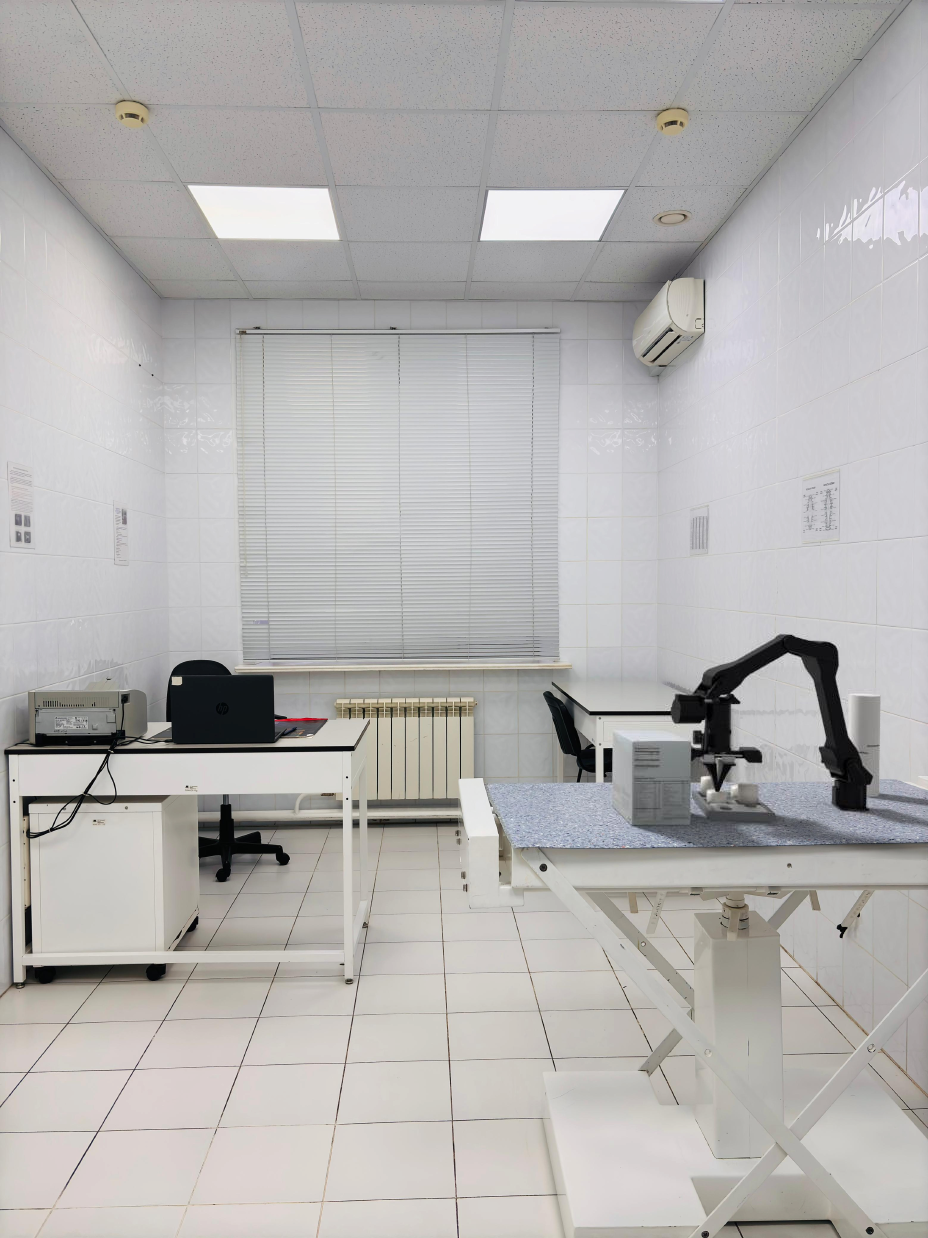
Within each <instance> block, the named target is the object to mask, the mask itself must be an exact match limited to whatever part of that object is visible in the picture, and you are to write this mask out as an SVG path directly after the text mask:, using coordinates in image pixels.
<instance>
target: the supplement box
mask: <svg viewBox="0 0 928 1238" xmlns="http://www.w3.org/2000/svg"><path fill="white" fill-rule="evenodd" d="M691 746H692V741H691V740H688V739H685V738H683V737H681V736H678V734H677V735H676V734H675V733H672V732H669V731H667V730H645V729H644V730H643V729H640V730H635V729H634V730H632V729H631V730H630V729H628V730H627V729H626V730H623V729H622V730H621V729H613V730H612V779H611V780H612V781H611V782H612V783H611V785H612V790H611V791H612V792H611V793H612V794H611V799H612V800H611V802H612V803H611V806H612V807H613V808H614V809H615V810H616V811H617V812H618V813H619V814H620V815H621V817H623V818H624V819H625V820H626V821H627V823H629V824H630V825H631V826H690V825H691V799H692V790H691V788H692V787H691V785H692V784H691V782H692V780H691V779H692V774H691V773H692V772H691V770H692V769H691V768H692V761H691Z"/></svg>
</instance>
